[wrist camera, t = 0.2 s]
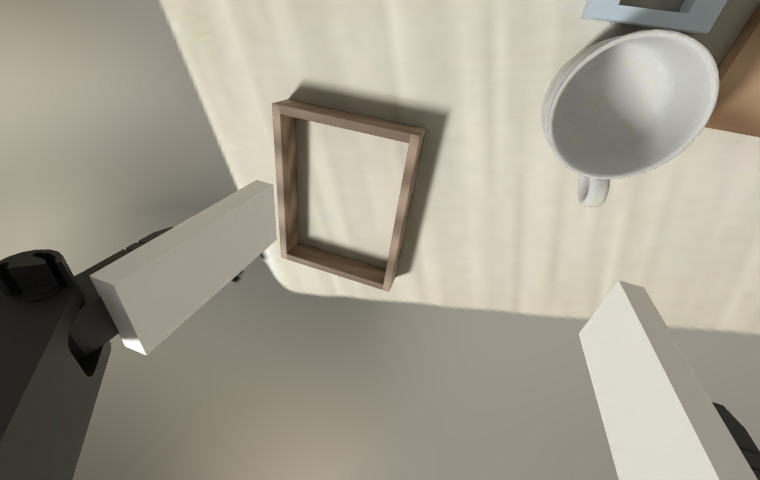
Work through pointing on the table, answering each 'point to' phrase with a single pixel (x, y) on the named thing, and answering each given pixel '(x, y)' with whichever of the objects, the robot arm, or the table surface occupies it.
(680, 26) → the blue post stand
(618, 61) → the teacup
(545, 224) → the table surface
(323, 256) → the open brown wooden frame
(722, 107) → the boss board
